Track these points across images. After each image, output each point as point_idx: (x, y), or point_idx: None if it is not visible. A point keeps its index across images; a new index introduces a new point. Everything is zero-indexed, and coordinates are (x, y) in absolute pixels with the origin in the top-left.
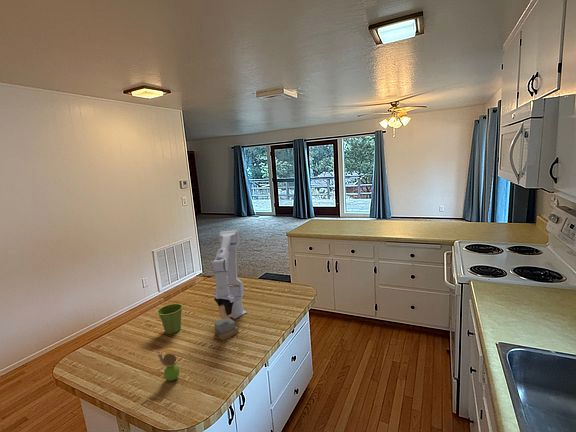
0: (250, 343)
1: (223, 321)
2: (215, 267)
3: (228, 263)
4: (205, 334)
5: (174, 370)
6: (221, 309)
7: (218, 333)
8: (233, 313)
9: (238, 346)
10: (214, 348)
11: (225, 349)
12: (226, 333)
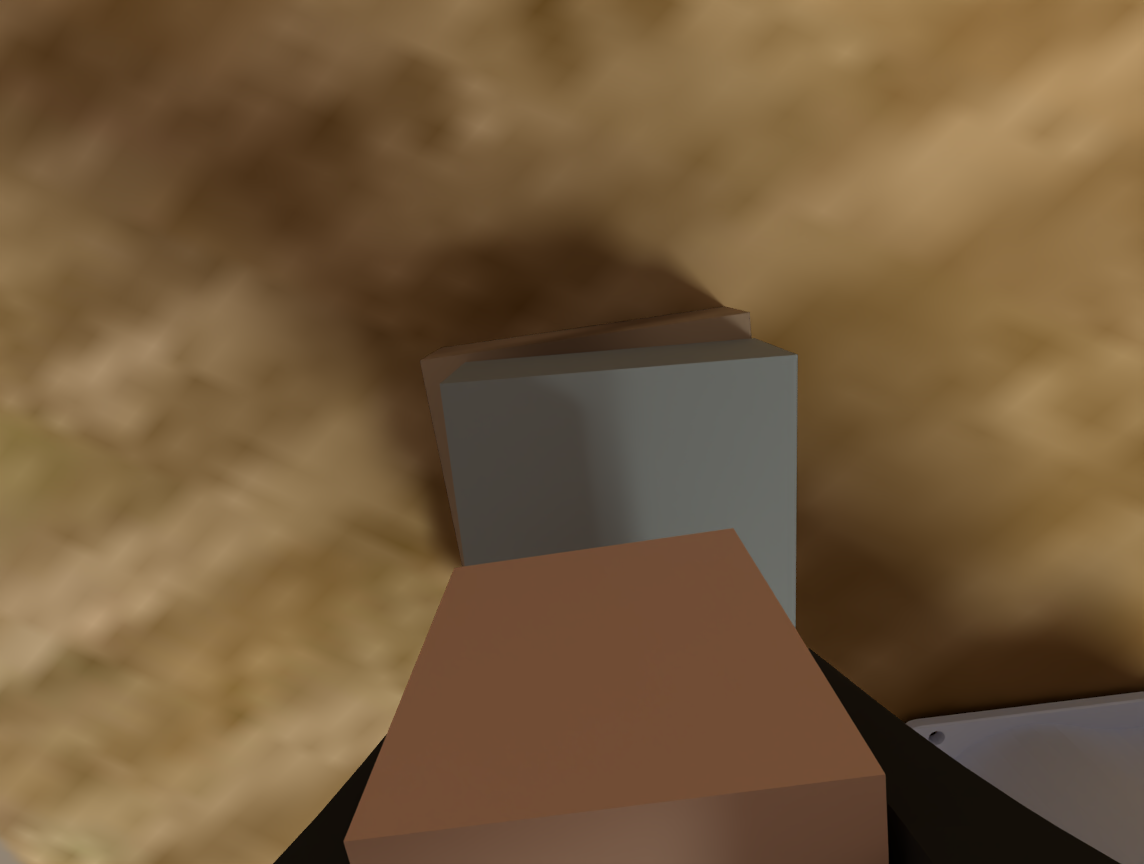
0: (110, 593)
1: (675, 530)
2: None
3: None
4: (845, 177)
5: None
6: (581, 737)
7: (588, 332)
8: (996, 783)
9: (135, 441)
10: (311, 128)
11: (174, 259)
12: (436, 428)
